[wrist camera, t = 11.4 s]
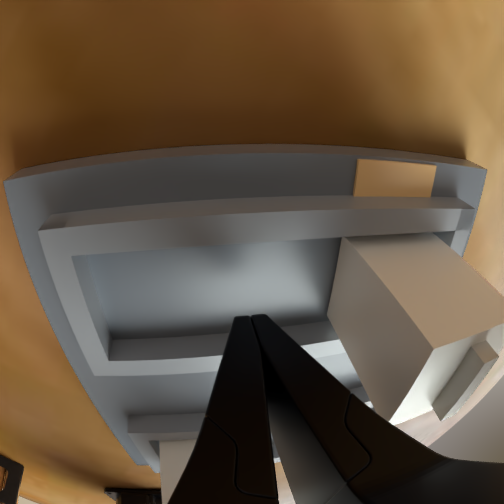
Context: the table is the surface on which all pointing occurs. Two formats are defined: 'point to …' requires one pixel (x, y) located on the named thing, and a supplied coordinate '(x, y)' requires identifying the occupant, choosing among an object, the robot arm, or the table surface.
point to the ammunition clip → (10, 480)
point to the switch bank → (211, 260)
